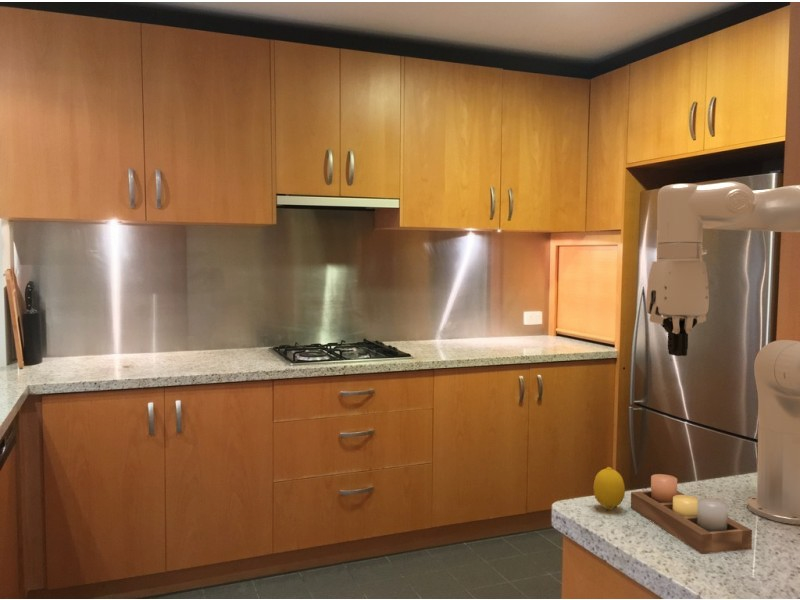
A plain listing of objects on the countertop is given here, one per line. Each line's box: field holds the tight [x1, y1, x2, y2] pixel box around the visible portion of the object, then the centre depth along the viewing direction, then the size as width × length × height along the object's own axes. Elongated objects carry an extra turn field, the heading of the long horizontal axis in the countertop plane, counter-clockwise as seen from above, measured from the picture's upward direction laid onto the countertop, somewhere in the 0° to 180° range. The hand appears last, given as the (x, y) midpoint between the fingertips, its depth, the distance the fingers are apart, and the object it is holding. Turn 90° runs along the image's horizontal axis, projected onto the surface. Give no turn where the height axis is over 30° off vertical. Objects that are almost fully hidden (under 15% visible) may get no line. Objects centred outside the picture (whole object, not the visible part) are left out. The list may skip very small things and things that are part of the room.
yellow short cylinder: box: [673, 494, 699, 517], centre depth 110 cm, size 4×4×4 cm
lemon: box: [592, 466, 626, 511], centre depth 118 cm, size 6×6×8 cm
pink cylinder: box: [650, 473, 678, 503], centre depth 116 cm, size 4×4×4 cm
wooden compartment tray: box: [630, 490, 753, 555], centre depth 110 cm, size 9×20×3 cm, turn 11°
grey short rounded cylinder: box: [697, 497, 729, 532], centre depth 103 cm, size 4×4×4 cm
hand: (677, 354), depth 115 cm, fingers closed
